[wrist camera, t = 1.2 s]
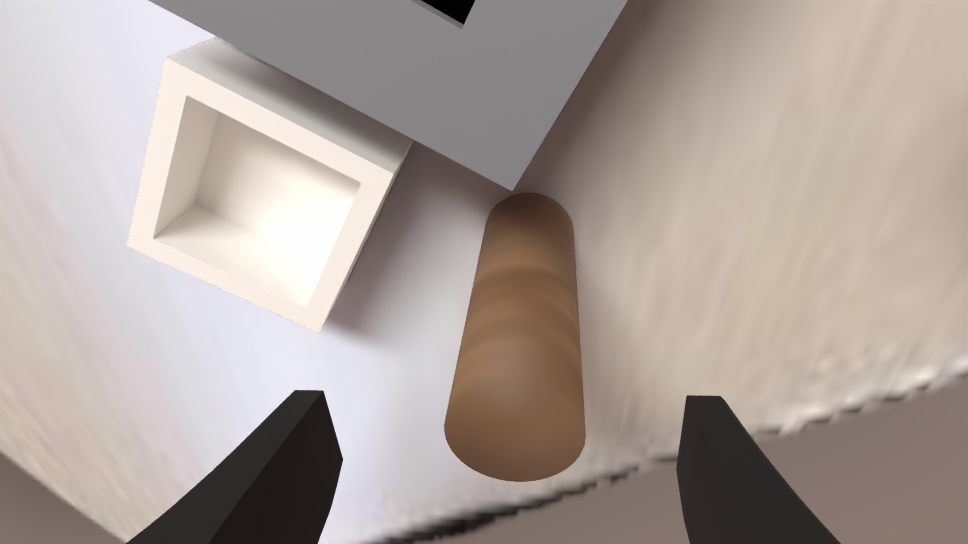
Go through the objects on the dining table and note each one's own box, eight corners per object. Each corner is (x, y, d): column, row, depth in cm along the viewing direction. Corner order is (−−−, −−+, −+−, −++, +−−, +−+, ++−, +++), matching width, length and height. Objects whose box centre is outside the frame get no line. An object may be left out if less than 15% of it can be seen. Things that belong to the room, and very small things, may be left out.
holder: (415, 136, 19) (393, 174, 16) (345, 283, 22) (319, 332, 20) (220, 34, 18) (165, 57, 15) (178, 204, 21) (126, 246, 18)
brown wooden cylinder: (590, 219, 20) (614, 420, 12) (544, 284, 21) (539, 498, 14) (511, 177, 19) (484, 358, 12) (469, 247, 21) (421, 447, 13)
